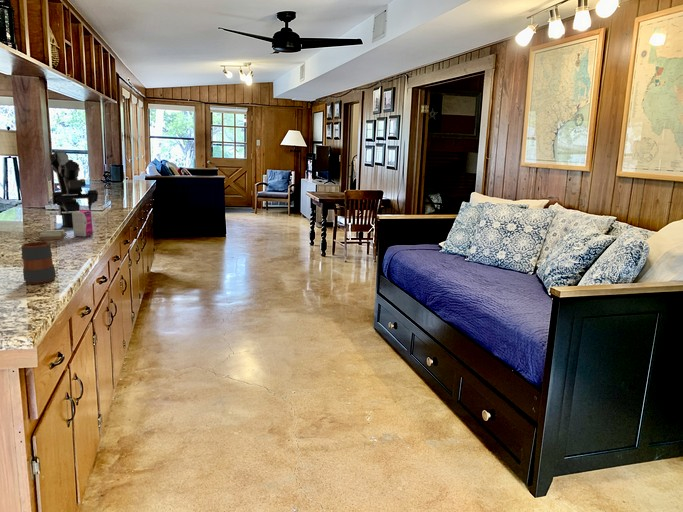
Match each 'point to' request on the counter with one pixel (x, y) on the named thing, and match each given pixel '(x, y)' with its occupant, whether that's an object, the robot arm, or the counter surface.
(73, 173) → the robot arm
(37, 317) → the counter surface
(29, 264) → the banded dark cylinder
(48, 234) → the pedestal
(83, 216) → the supplement box
